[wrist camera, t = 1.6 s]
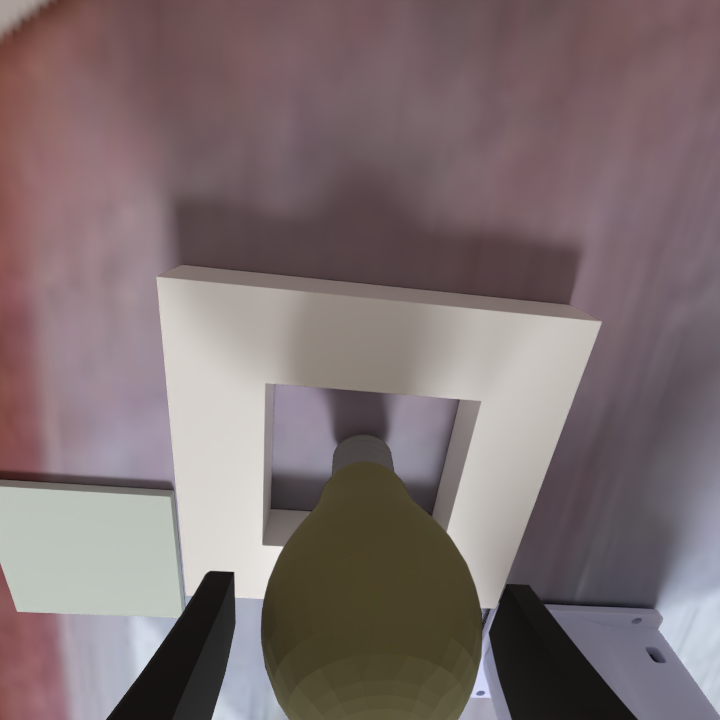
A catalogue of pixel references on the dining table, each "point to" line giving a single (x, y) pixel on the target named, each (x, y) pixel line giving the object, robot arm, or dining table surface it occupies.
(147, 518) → the rubber pad
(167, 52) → the dining table surface
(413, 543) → the light bulb
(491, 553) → the socket block
